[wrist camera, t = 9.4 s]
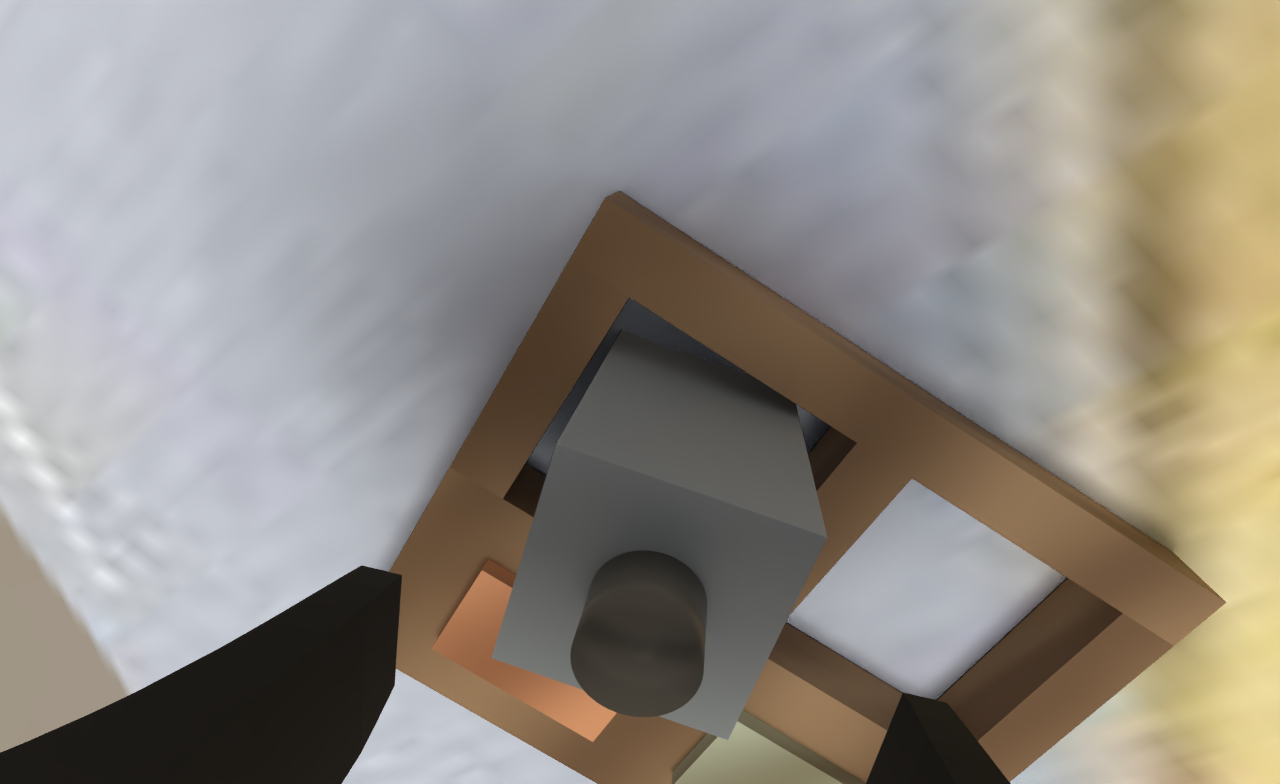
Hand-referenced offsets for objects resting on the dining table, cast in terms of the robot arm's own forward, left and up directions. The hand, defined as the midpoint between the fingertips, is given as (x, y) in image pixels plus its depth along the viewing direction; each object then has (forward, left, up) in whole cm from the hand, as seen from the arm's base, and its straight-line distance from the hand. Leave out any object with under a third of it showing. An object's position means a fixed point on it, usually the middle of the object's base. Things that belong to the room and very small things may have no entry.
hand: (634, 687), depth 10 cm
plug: (0, 0, -9) cm, 9 cm away
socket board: (-4, +3, -9) cm, 10 cm away
